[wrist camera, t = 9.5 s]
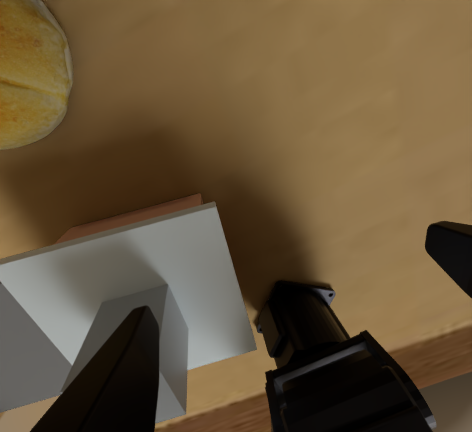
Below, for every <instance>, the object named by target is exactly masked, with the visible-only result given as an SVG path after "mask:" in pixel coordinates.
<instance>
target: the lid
mask: <svg viewBox="0 0 472 432" xmlns="http://www.w3.org/2000/svg"><path fill="white" fill-rule="evenodd" d="M0 282H1V283H2V284H3V285H4V286H5V287H6V289H7V290H8V291H9V292H10V293H11V295H12V296H13V297H14V298H15V299H16V300H17V302H18V303H19V304H20V305H21V306H22V307H23V309H24V310H25V311H26V312H27V313H28V314H29V316H30V317H31V318H32V319H33V320H34V321H35V323H36V324H37V325H38V326H39V327H40V328H41V330H42V331H43V332H44V333H45V334H46V335H47V337H48V338H49V339H50V340H51V341H52V342H53V344H54V345H55V346H56V347H57V348H58V349H59V351H60V352H61V353H62V354H63V355H64V357H65V358H66V359H67V360H68V361H69V362H70V364H71V365H72V368H71V370H70V372H69V374H68V376H67V378H66V381H65V383H64V385H63V387H62V389H61V391H60V393H61V394H62V393H63V391H64V390H65V389H66V388H67V387H68V386H69V384H70V383H71V382H72V381H73V380H74V378H75V377H76V376H77V375H78V374H79V372H80V371H81V370H82V369H83V368H84V366H85V365H86V364H87V363H88V362H89V361H90V359H91V358H92V357H93V356H94V355H95V353H96V352H97V351H98V350H99V349H100V347H101V346H102V345H103V344H104V343H105V342H106V340H107V339H108V338H109V337H110V336H111V334H112V333H113V332H114V331H115V330H116V328H117V327H118V326H119V325H120V324H121V322H122V321H123V320H124V319H125V318H126V317H127V315H128V314H129V313H130V312H131V311H132V310H133V309H134V308H136V307H140V306H143V305H148V306H149V307H150V309H151V311H152V312H153V314H154V316H155V318H156V320H157V322H158V324H159V330H160V353H159V392H158V401H157V411H156V420H155V423H159V422H162V421H165V420H169V419H172V418H175V417H179V416H182V415H185V414H186V399H187V370H189V369H193V368H196V367H200V366H203V365H206V364H210V363H213V362H217V361H220V360H223V359H227V358H230V357H233V356H237V355H240V354H244V353H247V352H250V351H254V350H257V347H256V343H255V339H254V336H253V332H252V329H251V325H250V322H249V318H248V315H247V311H246V308H245V304H244V301H243V297H242V294H241V291H240V287H239V284H238V280H237V277H236V273H235V270H234V266H233V263H232V259H231V256H230V252H229V249H228V245H227V242H226V238H225V235H224V231H223V228H222V224H221V221H220V218H219V214H218V211H217V207H216V204H215V201H214V202H210V203H206V204H203V205H199V206H195V207H192V208H188V209H184V210H180V211H177V212H173V213H169V214H166V215H162V216H158V217H154V218H151V219H147V220H143V221H140V222H136V223H132V224H128V225H125V226H121V227H117V228H114V229H110V230H106V231H102V232H99V233H95V234H91V235H88V236H84V237H80V238H76V239H73V240H69V241H65V242H62V243H58V244H54V245H50V246H47V247H43V248H39V249H36V250H32V251H28V252H24V253H21V254H17V255H13V256H10V257H6V258H2V259H0Z"/></svg>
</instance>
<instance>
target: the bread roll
mask: <svg viewBox="0 0 472 432" xmlns="http://www.w3.org/2000/svg"><path fill="white" fill-rule="evenodd" d="M72 83H73V63H72V56H71V52H70V49H69V45H68V41H67V38H66V36H65V33H64V31H63V30H62V28H61V27H60V25H59V23H58V22H57V20H56V19H55V18H54V16H53V15H52V14H51V13H50V11H49V10H48V8H47V6H46V5H45V4H44V3H43V2H42V1H41V0H0V150H1V149H11V148H18V147H21V146H25V145H28V144H31V143H35V142H36V141H38V140H40V139H43V138H44V137H46V136H47V135H49V134H50V133H51V132H52V131H53V130H54V129H55V128H56V127H57V126H58V125H60V123H61V121H62V120H63V118H64V116H65V115H66V112H67V107H68V96H69V94H70V91H71V88H72Z"/></svg>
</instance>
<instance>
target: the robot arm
mask: <svg viewBox="0 0 472 432" xmlns="http://www.w3.org/2000/svg"><path fill="white" fill-rule="evenodd" d="M425 249H426V251H427V253H428V254H429V255H430V256H431V257H432V258H433V259H434V260H435V261H436V263H437V264H438V265H439V266H440V267H441V268H442V269H443V270H444V271H445V272H446V273H447V274H448V275H449V276H450V277H451V278H452V279H453V280H454V281H455V282H456V283H457V285H458V286H459V287H460V288H461V289H462V290H463V291H464V292H465V293H466V294H468V295H469V296H470V297H471V298H472V225H467V224H461V223H454V222H448V221H440V222H437V223H433V224H431V225H429V227H428V229H427V235H426V242H425ZM279 286H281V287H279ZM334 297H335V292H334V290H333V289H331V288H325V287H319V286H313V285H306V284H300V283H293V282H287V281H278V282H276V283H275V285H274V288H273V290H272V292H271V294H270V297H269V299H268V300H267V301H266V303H265V305H264V308H263V310H262V312H261V314H260V317H259V321H258V324H257V326H256V329H257V332H258V333H263V337H264V340H265V344H266V347H267V351H268V354H269V356H270V357H271V358H274V359H275V362H276V366H277V369H275V370H273V371H272V370H269V371H267V372H265V374H266V380H267V383H266V387H265V389H266V393H267V397H268V402H269V408H270V414H271V432H433V431H432V430H433V429H435V428H436V422H435V419H434V417H433V414H432V412H431V410H430V408H429V407H428V405H427V403H426V401H425V400H424V398H423V396H422V395H421V394H420V392H419V390H418V389H417V387H416V386H415V384H414V383H413V381H412V380H411V379H410V378H409V376H408V375H407V374H406V372H405V371H404V370H403V369H402V368H401V367H400V366H399V365H398V364H397V362H396V361H395V360H394V359H393V358H392V357H391V356H390V355H389V354H388V353H387V352H386V351H385V350H384V349H383V347H382V346H381V345H380V344H379V343H378V342H377V341H376V340H375V339H374V338H373V337H372V336H371V335H370V334H369V332H368V331H367V330H365V331H363V332H360V334H359V335H356V336H354V337H352V338H350V336H349V335H348V333H347V332H346V330H345V329H344V327H343V326H342V324H341V323H340V321H339V320H338V318H337V316H336V315H335V313H334V312H333V310H332V309H331V307H330V306H329V305H330V304H331V302H332V300H333V298H334ZM159 353H160V330H159V324H158V322H157V320H156V318H155V316H154V314H153V312H152V311H151V309H150V307H149V306H148V305H143V306H140V307H136V308H134V309H133V310H132V311H131V312H130V313H129V314H128V315H127V317H126V318H125V319H124V320H123V321H122V322H121V324H120V325H119V326H118V327H117V328H116V330H115V331H114V332H113V333H112V334H111V336H110V337H109V338H108V339H107V340H106V342H105V343H104V344H103V345H102V346H101V347H100V349H99V350H98V351H97V352H96V353H95V355H94V356H93V357H92V358H91V359H90V361H89V362H88V363H87V364H86V365H85V366H84V368H83V369H82V370H81V371H80V372H79V374H78V375H77V376H76V377H75V378H74V380H73V381H72V382H71V383H70V384H69V386H68V387H67V388H66V389H65V390H64V391H63V393H62V394H61V395H60V396H59V397H58V399H57V400H56V401H55V402H54V404H53V405H52V406H51V407H50V408H49V409H48V411H47V412H46V413H45V414H44V415H43V417H42V418H41V419H40V420H39V421H38V422H37V424H36V425H35V426H34V427H33V428H32V430H31V431H30V432H154V429H155V420H156V411H157V401H158V392H159Z"/></svg>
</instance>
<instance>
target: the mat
mask: <svg viewBox="0 0 472 432" xmlns="http://www.w3.org/2000/svg"><path fill="white" fill-rule="evenodd" d="M71 368H72V365H71V364H70V362H69V361H68V360H67V359H66V358H65V357H64V355H63V354H62V353H61V352H60V351H59V349H58V348H57V347H56V346H55V345H54V344H53V342H52V341H51V340H50V339H49V338H48V337H47V335H46V334H45V333H44V332H43V331H42V330H41V328H40V327H39V326H38V325H37V324H36V323H35V321H34V320H33V319H32V318H31V317H30V316H29V314H28V313H27V312H26V311H25V310H24V309H23V307H22V306H21V305H20V304H19V303H18V302H17V300H16V299H15V298H14V297H13V296H12V295H11V293H10V292H9V291H8V290H7V289H6V287H5V286H4V285H3V284H2V283H1V282H0V413H1V412H4V411H7V410H11V409H14V408H17V407H21V406H24V405H28V404H31V403H35V402H38V401H41V400H45V399H48V398H51V397H55V396H59V395H61V393H60V391H61V389H62V387H63V385H64V383H65V381H66V378H67V376H68V374H69V372H70V370H71Z"/></svg>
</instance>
